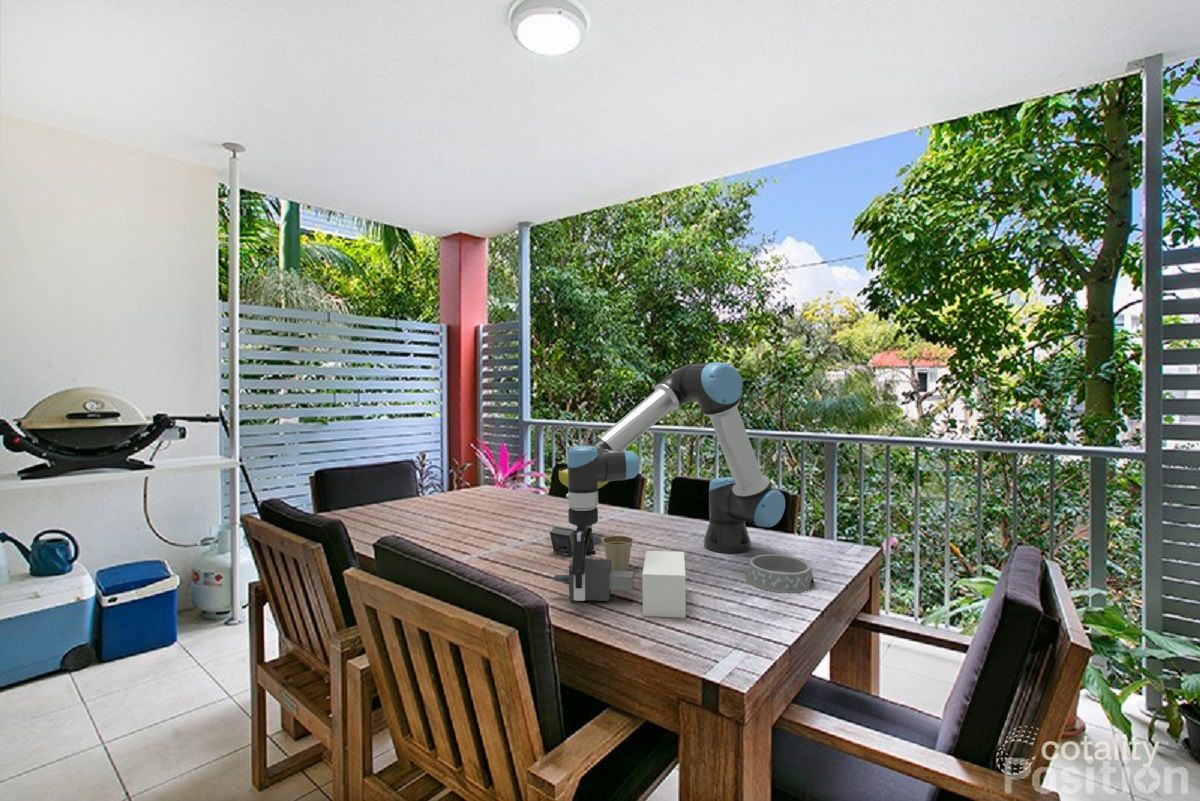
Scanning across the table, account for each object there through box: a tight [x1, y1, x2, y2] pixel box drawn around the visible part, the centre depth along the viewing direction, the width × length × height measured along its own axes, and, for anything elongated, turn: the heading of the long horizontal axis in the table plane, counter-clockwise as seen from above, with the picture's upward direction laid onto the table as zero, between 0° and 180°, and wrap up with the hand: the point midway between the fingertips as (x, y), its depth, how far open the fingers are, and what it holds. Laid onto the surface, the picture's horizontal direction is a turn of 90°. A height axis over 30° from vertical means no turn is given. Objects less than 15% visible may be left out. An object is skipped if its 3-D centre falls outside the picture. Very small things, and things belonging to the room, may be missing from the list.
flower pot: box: [601, 535, 635, 571], centre depth 163 cm, size 9×9×9 cm
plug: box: [553, 558, 634, 602], centre depth 141 cm, size 20×6×8 cm, turn 83°
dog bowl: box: [745, 553, 815, 595], centre depth 152 cm, size 17×18×5 cm
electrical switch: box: [549, 524, 577, 557], centre depth 177 cm, size 9×5×9 cm, turn 57°
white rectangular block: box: [642, 550, 687, 619], centre depth 139 cm, size 10×18×10 cm, turn 173°
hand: (583, 589), depth 141 cm, fingers open, 13 cm apart
